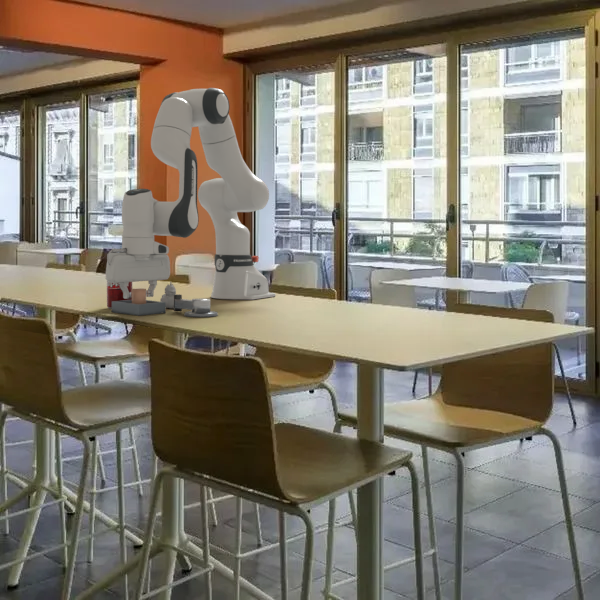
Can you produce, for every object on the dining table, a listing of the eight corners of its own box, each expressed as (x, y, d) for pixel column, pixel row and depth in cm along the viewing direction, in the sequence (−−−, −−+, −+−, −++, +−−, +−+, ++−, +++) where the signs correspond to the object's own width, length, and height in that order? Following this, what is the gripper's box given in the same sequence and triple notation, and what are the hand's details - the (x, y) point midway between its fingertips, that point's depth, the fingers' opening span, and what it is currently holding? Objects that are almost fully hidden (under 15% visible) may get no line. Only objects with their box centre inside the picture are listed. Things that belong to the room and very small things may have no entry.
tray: (138, 309, 257) (138, 299, 257) (165, 312, 250) (165, 302, 250) (111, 312, 250) (111, 301, 250) (138, 315, 243) (138, 304, 242)
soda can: (126, 310, 256) (126, 268, 254) (102, 309, 257) (102, 267, 256) (136, 307, 263) (136, 266, 262) (113, 306, 264) (112, 266, 263)
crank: (214, 313, 245) (214, 297, 245) (200, 315, 241) (200, 298, 241) (181, 309, 254) (181, 293, 253) (168, 311, 250) (168, 295, 249)
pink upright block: (149, 310, 250) (149, 289, 249) (137, 311, 247) (137, 289, 246) (140, 309, 253) (140, 288, 252) (128, 310, 250) (128, 288, 249)
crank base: (201, 312, 251) (201, 309, 251) (224, 315, 245) (224, 312, 245) (177, 315, 244) (177, 311, 244) (200, 318, 238) (200, 314, 238)
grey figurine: (167, 309, 258) (167, 282, 257) (155, 307, 263) (155, 280, 262) (183, 308, 262) (183, 281, 261) (171, 306, 267) (171, 279, 266)
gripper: (114, 249, 238) (115, 301, 240) (173, 247, 254) (173, 296, 255) (100, 248, 242) (101, 299, 244) (158, 246, 258) (159, 294, 259)
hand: (138, 297), depth 250 cm, fingers open, 6 cm apart
